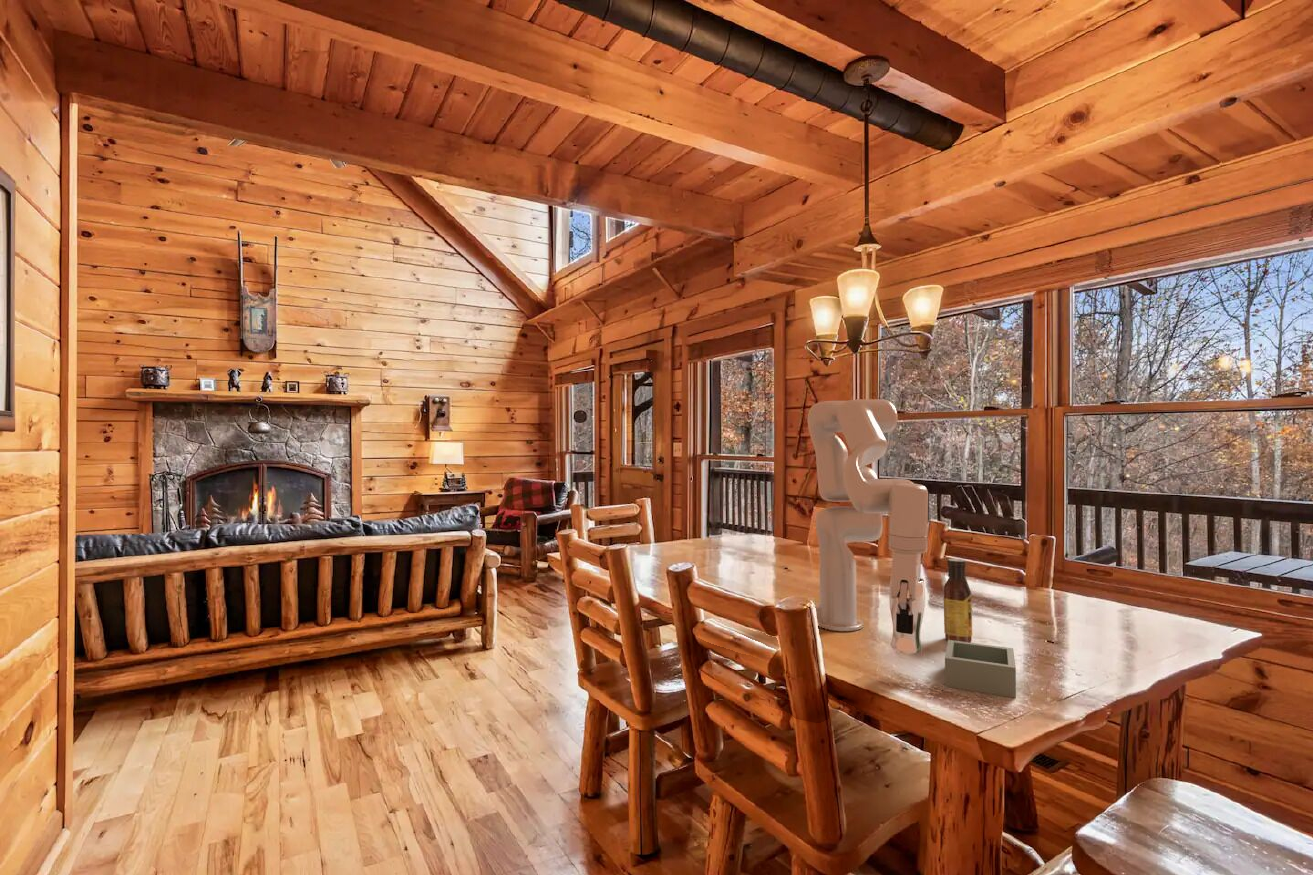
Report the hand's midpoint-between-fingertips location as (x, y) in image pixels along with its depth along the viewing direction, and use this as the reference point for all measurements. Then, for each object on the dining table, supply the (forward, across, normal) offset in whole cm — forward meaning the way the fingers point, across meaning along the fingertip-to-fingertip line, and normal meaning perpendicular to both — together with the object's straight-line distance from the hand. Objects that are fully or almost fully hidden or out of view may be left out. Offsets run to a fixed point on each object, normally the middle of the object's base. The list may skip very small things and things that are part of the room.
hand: (906, 626), depth 131 cm
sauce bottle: (+12, -30, +9) cm, 33 cm away
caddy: (+10, -4, +14) cm, 18 cm away
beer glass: (+5, 0, 0) cm, 5 cm away
